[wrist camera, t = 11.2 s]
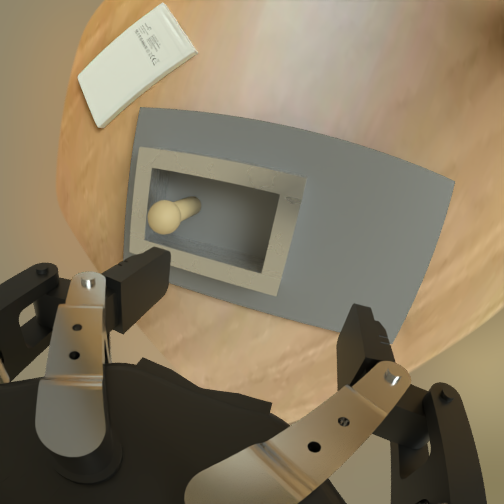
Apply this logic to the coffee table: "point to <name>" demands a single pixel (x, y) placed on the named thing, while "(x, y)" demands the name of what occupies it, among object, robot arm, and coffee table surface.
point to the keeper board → (300, 216)
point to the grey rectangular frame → (206, 255)
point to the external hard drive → (134, 63)
